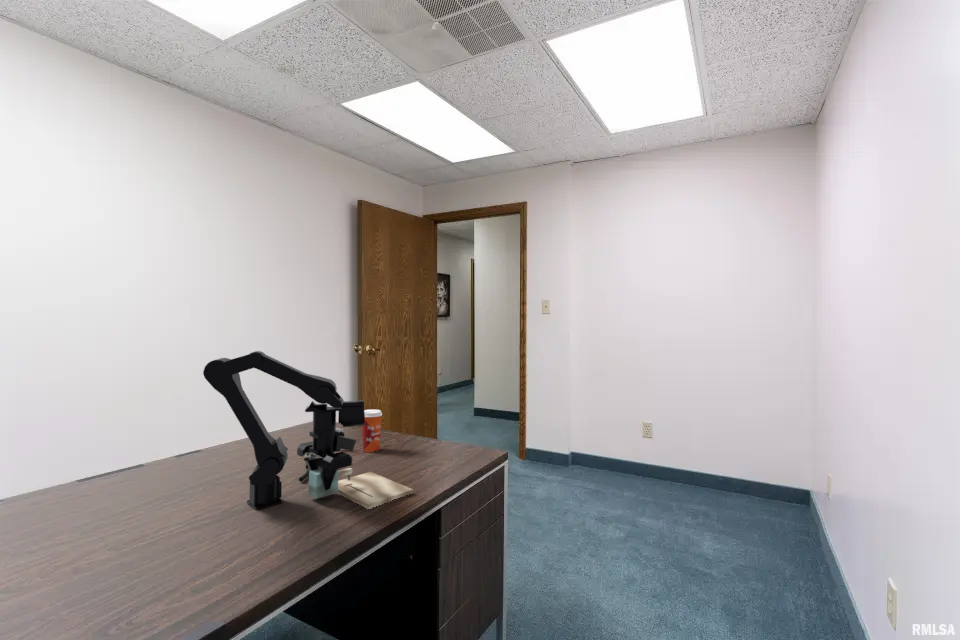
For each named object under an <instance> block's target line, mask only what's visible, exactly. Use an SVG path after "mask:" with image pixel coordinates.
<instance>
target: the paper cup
mask: <svg viewBox="0 0 960 640" xmlns="http://www.w3.org/2000/svg"><path fill="white" fill-rule="evenodd" d="M364 412H365V425H364V426H361V431H362V432H361V433H362V434H361V437H362V450H363V452H364V451H366V452H365V453H368V452H371V453H375V452H374V451H377V452H378V450H379V451H380V446H381V445H380V444H381V431H382V430H381V429H382V418H383V417H382V416H383V413H382V410H380V409H364Z"/></svg>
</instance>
